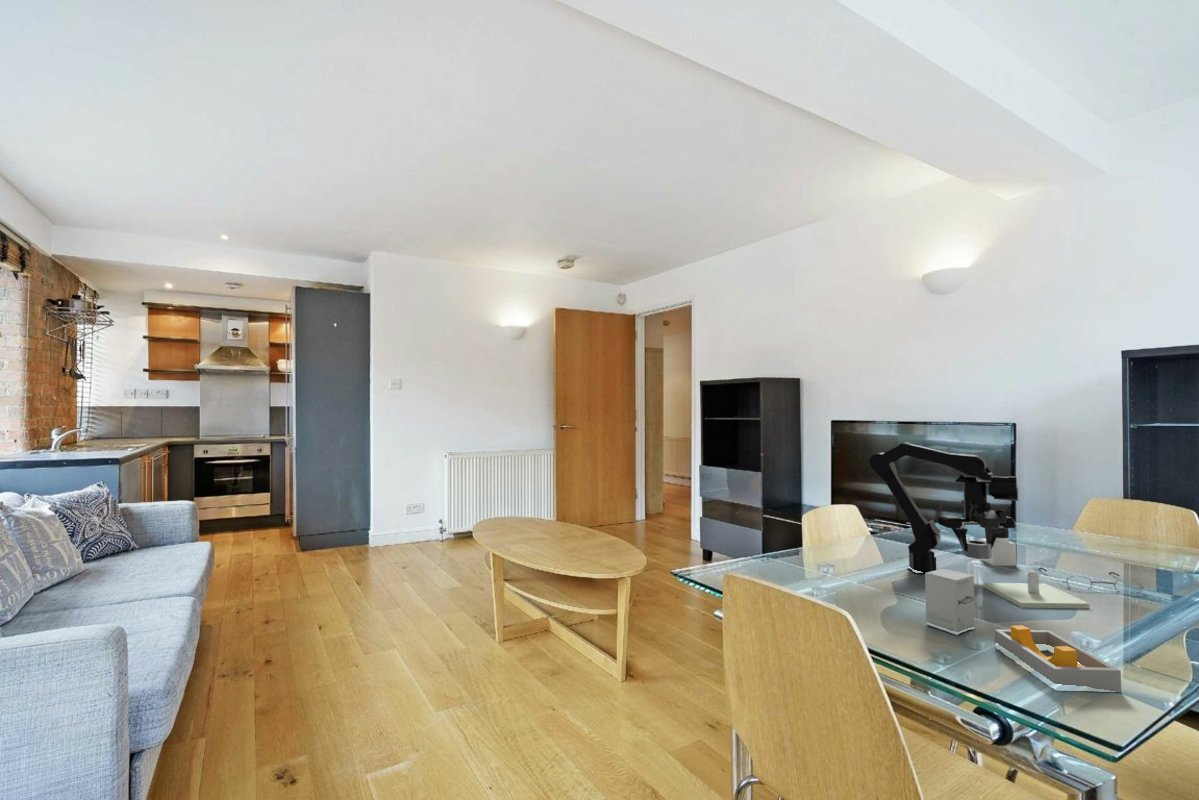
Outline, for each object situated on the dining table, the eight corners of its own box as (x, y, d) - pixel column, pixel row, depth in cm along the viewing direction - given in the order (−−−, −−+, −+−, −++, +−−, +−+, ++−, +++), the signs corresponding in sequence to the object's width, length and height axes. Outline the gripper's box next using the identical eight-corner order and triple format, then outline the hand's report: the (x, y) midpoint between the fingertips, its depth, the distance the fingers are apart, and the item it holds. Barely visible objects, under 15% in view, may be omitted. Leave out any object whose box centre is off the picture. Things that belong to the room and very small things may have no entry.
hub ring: (971, 558, 161) (971, 545, 161) (959, 553, 167) (959, 539, 168) (995, 559, 160) (995, 545, 160) (982, 553, 167) (982, 539, 167)
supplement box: (957, 636, 125) (955, 580, 125) (925, 625, 131) (923, 572, 132) (976, 629, 128) (974, 575, 128) (943, 619, 135) (942, 567, 135)
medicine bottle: (1003, 560, 183) (1001, 523, 184) (1017, 566, 176) (1015, 528, 176) (980, 560, 184) (978, 523, 184) (993, 566, 177) (991, 528, 177)
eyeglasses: (1064, 589, 155) (1063, 575, 155) (1037, 572, 173) (1036, 559, 173) (1146, 595, 149) (1145, 580, 149) (1109, 577, 167) (1109, 563, 167)
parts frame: (1055, 691, 101) (1054, 668, 101) (995, 648, 118) (994, 629, 119) (1121, 693, 99) (1120, 670, 100) (1050, 649, 117) (1049, 630, 117)
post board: (1021, 607, 141) (1020, 579, 141) (984, 587, 157) (983, 562, 157) (1089, 608, 140) (1088, 580, 140) (1045, 587, 156) (1044, 562, 156)
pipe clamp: (1086, 684, 103) (1085, 649, 103) (1065, 686, 103) (1063, 651, 103) (1031, 656, 115) (1030, 624, 115) (1011, 657, 115) (1010, 625, 115)
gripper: (956, 502, 157) (958, 558, 157) (1027, 502, 155) (1029, 558, 155) (936, 496, 168) (938, 548, 168) (1002, 496, 166) (1004, 548, 166)
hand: (977, 550), depth 164 cm, fingers closed on hub ring, 6 cm apart
